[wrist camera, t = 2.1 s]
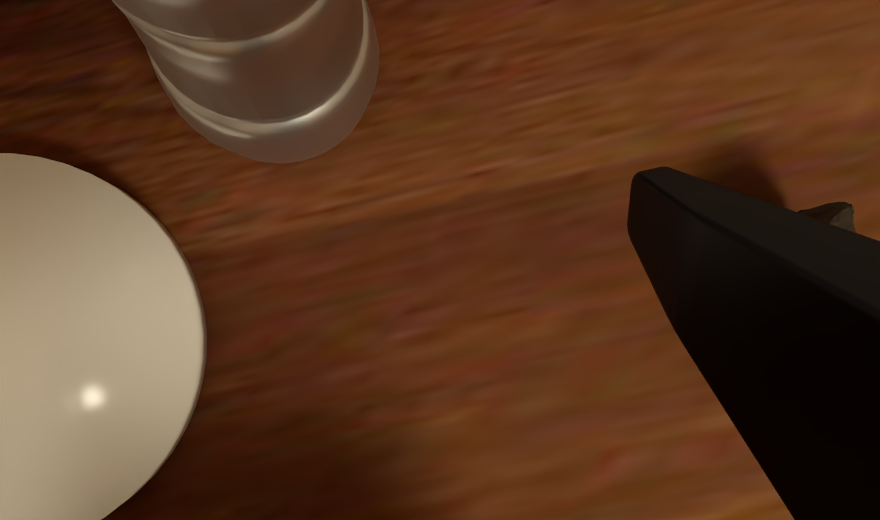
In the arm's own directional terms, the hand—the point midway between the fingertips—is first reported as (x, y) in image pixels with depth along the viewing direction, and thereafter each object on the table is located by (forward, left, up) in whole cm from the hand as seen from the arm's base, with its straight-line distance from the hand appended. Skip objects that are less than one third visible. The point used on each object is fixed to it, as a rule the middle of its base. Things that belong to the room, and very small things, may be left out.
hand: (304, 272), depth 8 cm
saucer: (-5, +10, -13) cm, 17 cm away
